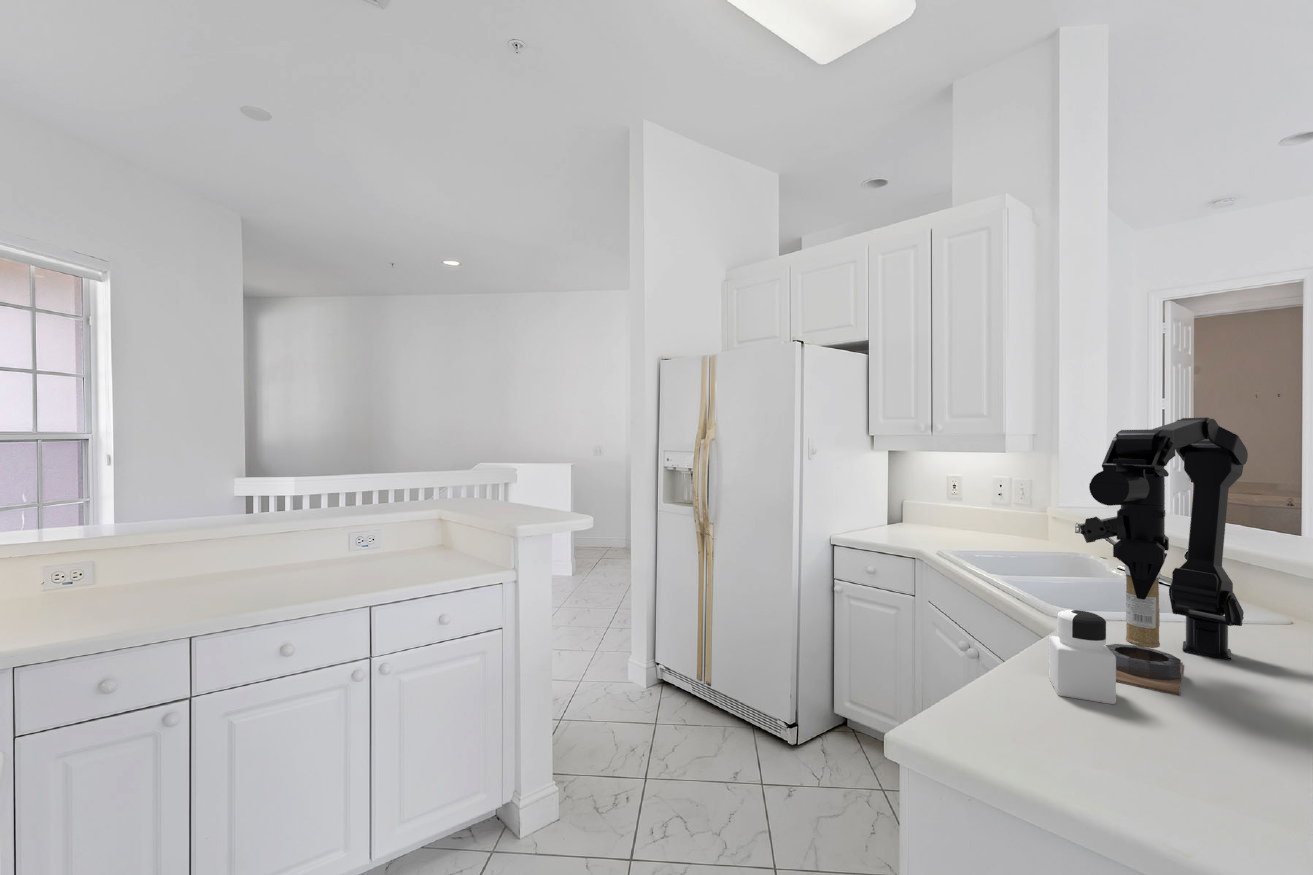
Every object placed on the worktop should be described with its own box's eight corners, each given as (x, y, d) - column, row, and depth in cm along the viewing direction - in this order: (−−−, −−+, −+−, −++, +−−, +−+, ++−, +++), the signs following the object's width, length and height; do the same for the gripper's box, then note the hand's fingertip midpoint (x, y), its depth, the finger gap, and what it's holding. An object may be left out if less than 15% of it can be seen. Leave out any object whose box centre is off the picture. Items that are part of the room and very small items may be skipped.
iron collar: (1108, 653, 106) (1108, 640, 106) (1181, 668, 99) (1181, 654, 99) (1100, 668, 98) (1100, 653, 98) (1179, 685, 92) (1179, 669, 92)
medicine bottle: (1103, 687, 91) (1103, 610, 91) (1116, 705, 85) (1116, 622, 85) (1048, 679, 94) (1049, 604, 94) (1057, 695, 88) (1058, 615, 88)
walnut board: (1110, 650, 109) (1110, 648, 109) (1182, 664, 102) (1182, 662, 102) (1096, 677, 95) (1097, 674, 95) (1179, 695, 89) (1179, 692, 89)
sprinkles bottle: (1164, 645, 98) (1164, 565, 98) (1154, 650, 96) (1154, 567, 96) (1130, 637, 102) (1130, 560, 102) (1120, 642, 99) (1120, 563, 99)
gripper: (1091, 497, 111) (1090, 579, 111) (1075, 503, 98) (1074, 597, 97) (1169, 501, 104) (1168, 590, 103) (1163, 509, 90) (1163, 611, 90)
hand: (1142, 596), depth 99 cm, fingers closed on sprinkles bottle, 4 cm apart
